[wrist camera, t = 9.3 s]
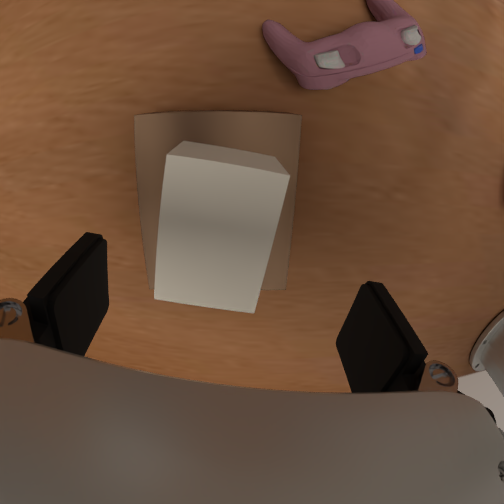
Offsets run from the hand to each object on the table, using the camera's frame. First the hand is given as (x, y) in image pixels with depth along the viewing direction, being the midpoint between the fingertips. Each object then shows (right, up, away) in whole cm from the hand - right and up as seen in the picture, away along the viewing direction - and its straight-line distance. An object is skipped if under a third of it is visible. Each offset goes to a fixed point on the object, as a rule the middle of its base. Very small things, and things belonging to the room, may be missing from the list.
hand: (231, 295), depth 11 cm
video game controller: (+7, +16, +6) cm, 19 cm away
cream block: (-1, +4, +7) cm, 8 cm away
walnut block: (-2, +6, +11) cm, 13 cm away
